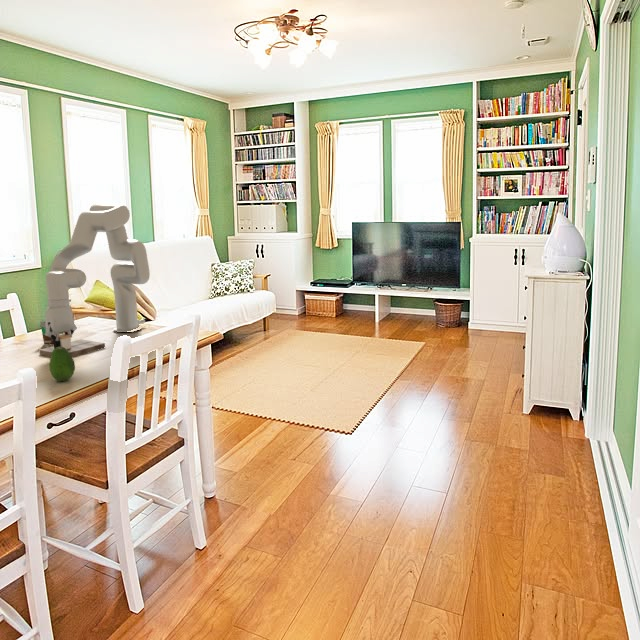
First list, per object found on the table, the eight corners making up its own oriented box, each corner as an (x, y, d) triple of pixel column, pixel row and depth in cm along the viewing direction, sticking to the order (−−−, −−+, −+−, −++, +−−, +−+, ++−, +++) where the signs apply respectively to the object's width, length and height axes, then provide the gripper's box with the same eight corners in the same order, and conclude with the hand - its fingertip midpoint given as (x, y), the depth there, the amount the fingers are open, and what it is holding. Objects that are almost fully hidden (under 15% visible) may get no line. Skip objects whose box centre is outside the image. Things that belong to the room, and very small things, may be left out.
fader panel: (81, 343, 247) (81, 339, 246) (105, 347, 240) (104, 342, 240) (39, 354, 229) (39, 349, 229) (64, 359, 223) (63, 354, 223)
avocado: (45, 383, 194) (42, 348, 192) (59, 376, 202) (56, 343, 199) (67, 385, 193) (64, 350, 190) (81, 378, 201) (78, 344, 198)
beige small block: (62, 346, 233) (61, 333, 232) (71, 348, 231) (70, 335, 230) (53, 348, 230) (52, 335, 229) (63, 350, 227) (62, 337, 226)
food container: (54, 346, 243) (52, 322, 241) (41, 345, 244) (39, 322, 242) (72, 339, 254) (71, 316, 252) (60, 338, 256) (58, 316, 254)
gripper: (70, 299, 235) (73, 343, 239) (33, 305, 221) (37, 352, 225) (83, 300, 232) (86, 345, 236) (46, 307, 218) (50, 354, 221)
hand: (62, 348), depth 230 cm, fingers closed on beige small block, 4 cm apart
